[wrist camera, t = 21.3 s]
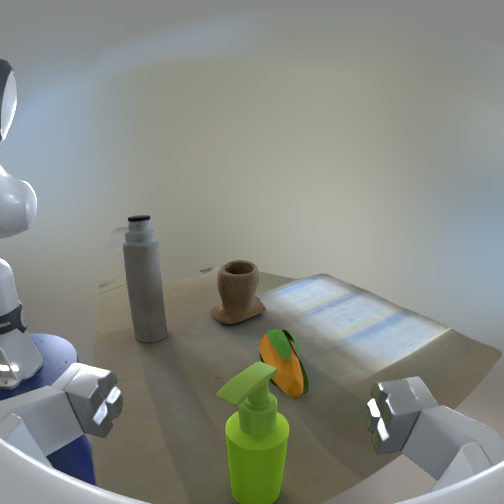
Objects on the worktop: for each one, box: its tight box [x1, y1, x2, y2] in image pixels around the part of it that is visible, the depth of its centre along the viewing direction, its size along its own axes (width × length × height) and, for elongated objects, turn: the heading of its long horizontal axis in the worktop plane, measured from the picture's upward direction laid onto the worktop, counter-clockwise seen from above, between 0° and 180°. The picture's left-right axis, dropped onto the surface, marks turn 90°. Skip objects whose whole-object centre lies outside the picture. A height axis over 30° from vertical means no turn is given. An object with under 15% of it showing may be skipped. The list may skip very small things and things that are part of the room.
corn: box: [259, 329, 308, 398], centre depth 50 cm, size 7×8×20 cm
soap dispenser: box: [216, 361, 289, 504], centre depth 24 cm, size 6×7×20 cm
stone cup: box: [210, 260, 266, 324], centre depth 75 cm, size 15×12×15 cm
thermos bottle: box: [123, 215, 167, 342], centre depth 62 cm, size 8×8×28 cm
